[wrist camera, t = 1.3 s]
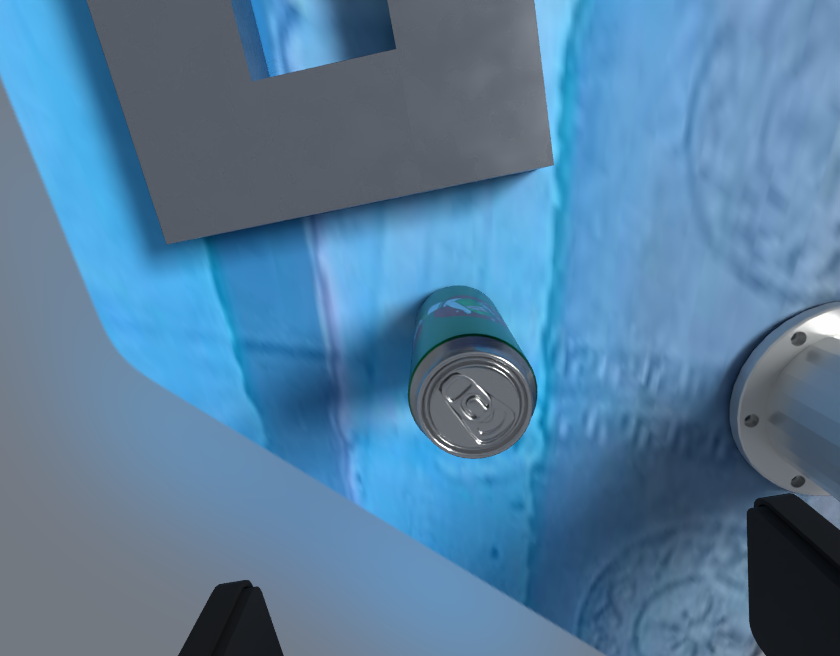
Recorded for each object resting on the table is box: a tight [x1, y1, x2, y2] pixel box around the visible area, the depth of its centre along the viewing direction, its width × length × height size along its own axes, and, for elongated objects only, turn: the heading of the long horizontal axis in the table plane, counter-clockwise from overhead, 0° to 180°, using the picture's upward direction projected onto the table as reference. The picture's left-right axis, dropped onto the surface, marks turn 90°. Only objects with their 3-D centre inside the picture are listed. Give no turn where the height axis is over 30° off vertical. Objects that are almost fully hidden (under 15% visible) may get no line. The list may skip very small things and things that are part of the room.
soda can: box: [408, 286, 537, 459], centre depth 24 cm, size 5×5×12 cm
